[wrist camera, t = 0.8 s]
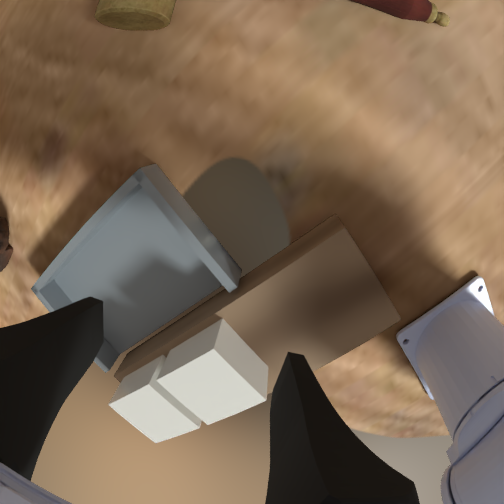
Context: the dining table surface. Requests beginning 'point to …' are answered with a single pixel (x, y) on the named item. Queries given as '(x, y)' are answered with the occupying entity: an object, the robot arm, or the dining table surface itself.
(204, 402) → the tile
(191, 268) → the tray
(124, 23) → the gavel
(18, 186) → the dining table surface
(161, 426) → the white squarish block
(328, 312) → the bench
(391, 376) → the dining table surface
